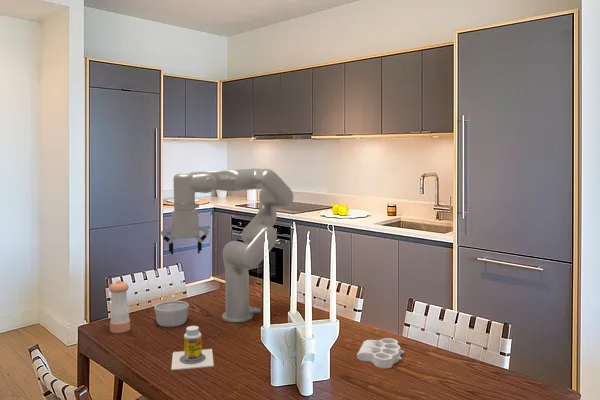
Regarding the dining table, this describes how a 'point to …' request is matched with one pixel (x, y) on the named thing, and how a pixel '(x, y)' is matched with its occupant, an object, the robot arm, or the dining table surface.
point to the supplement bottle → (192, 343)
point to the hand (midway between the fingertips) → (185, 253)
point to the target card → (182, 363)
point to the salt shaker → (119, 307)
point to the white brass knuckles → (380, 352)
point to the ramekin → (171, 313)
